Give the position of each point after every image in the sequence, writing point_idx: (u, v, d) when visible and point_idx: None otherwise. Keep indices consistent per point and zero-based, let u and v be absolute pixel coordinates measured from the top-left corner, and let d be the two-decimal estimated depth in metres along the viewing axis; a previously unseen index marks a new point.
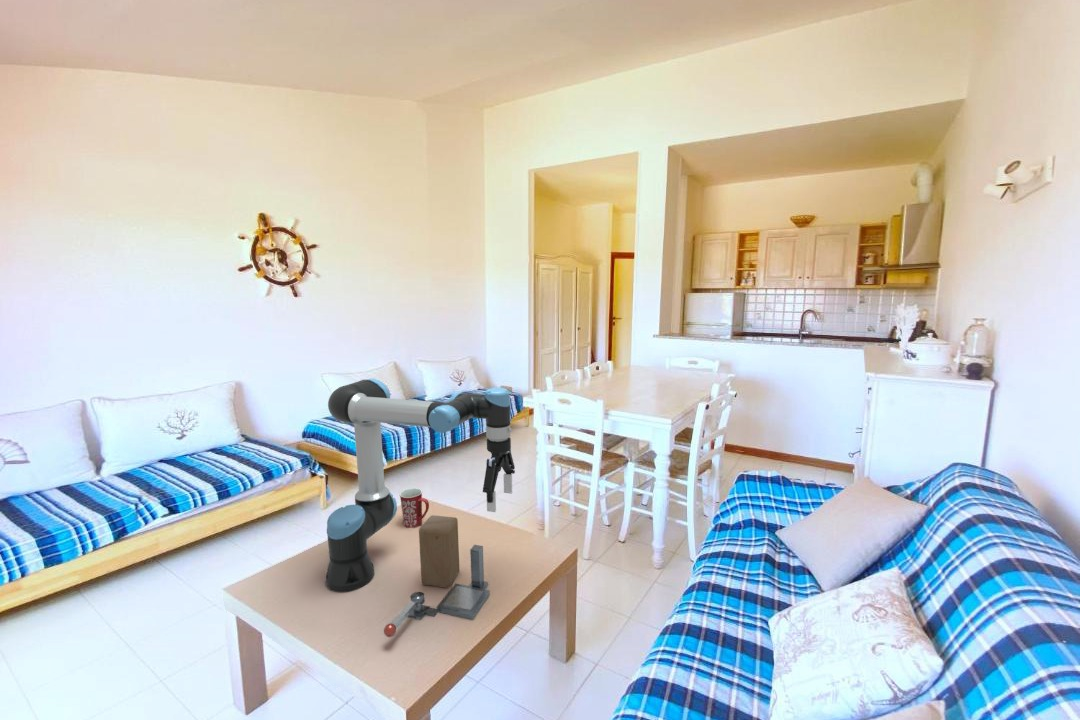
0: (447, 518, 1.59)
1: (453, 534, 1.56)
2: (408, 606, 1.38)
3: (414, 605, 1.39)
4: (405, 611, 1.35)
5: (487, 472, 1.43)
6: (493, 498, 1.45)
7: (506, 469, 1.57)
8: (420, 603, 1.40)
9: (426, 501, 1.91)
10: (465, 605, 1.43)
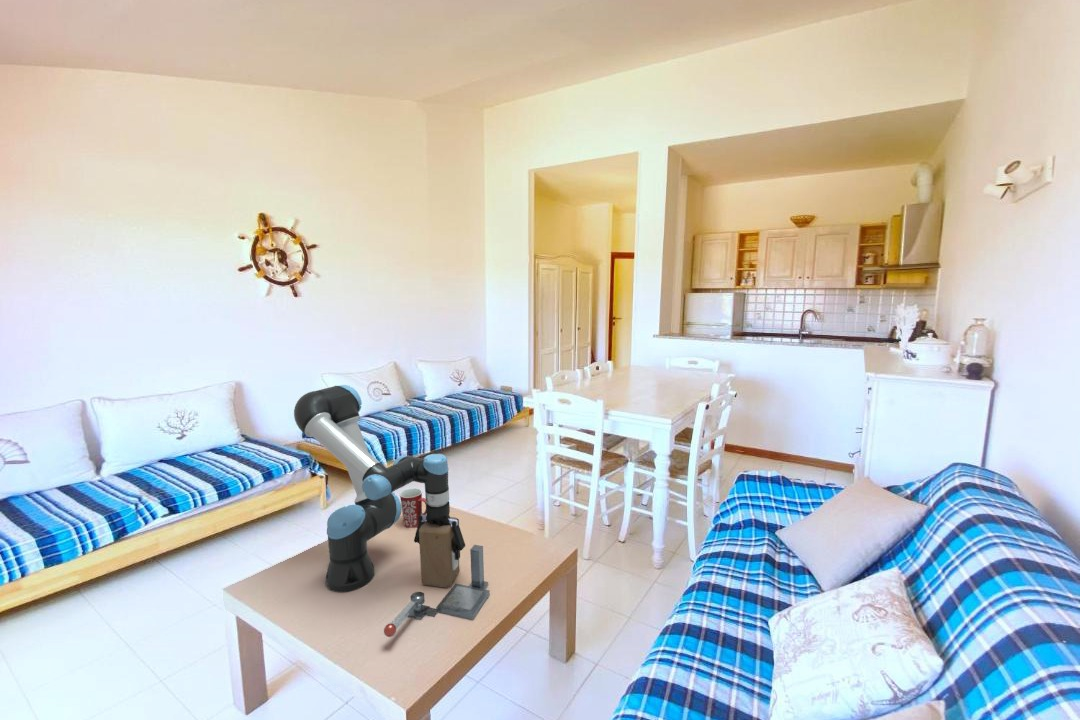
0: None
1: (453, 534, 1.56)
2: (408, 606, 1.38)
3: (414, 605, 1.39)
4: (405, 611, 1.35)
5: None
6: None
7: None
8: (420, 603, 1.40)
9: None
10: (465, 605, 1.43)
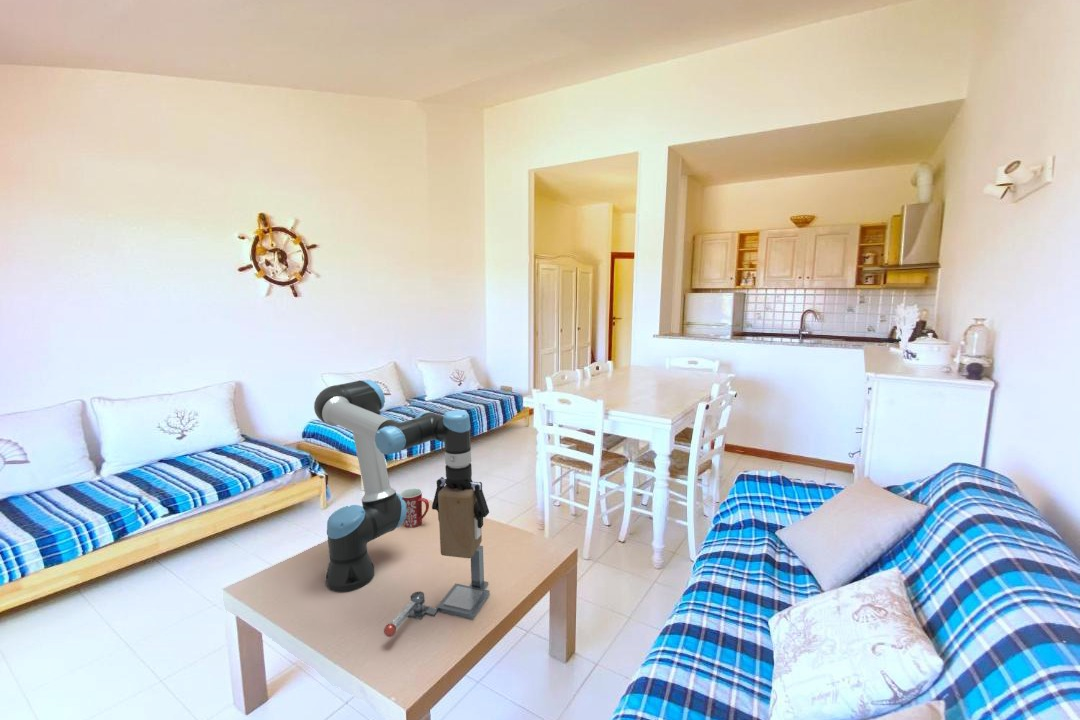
0: None
1: (476, 499, 1.41)
2: (408, 606, 1.38)
3: (414, 605, 1.39)
4: (405, 611, 1.35)
5: None
6: None
7: None
8: (420, 603, 1.40)
9: (426, 501, 1.91)
10: (465, 605, 1.43)
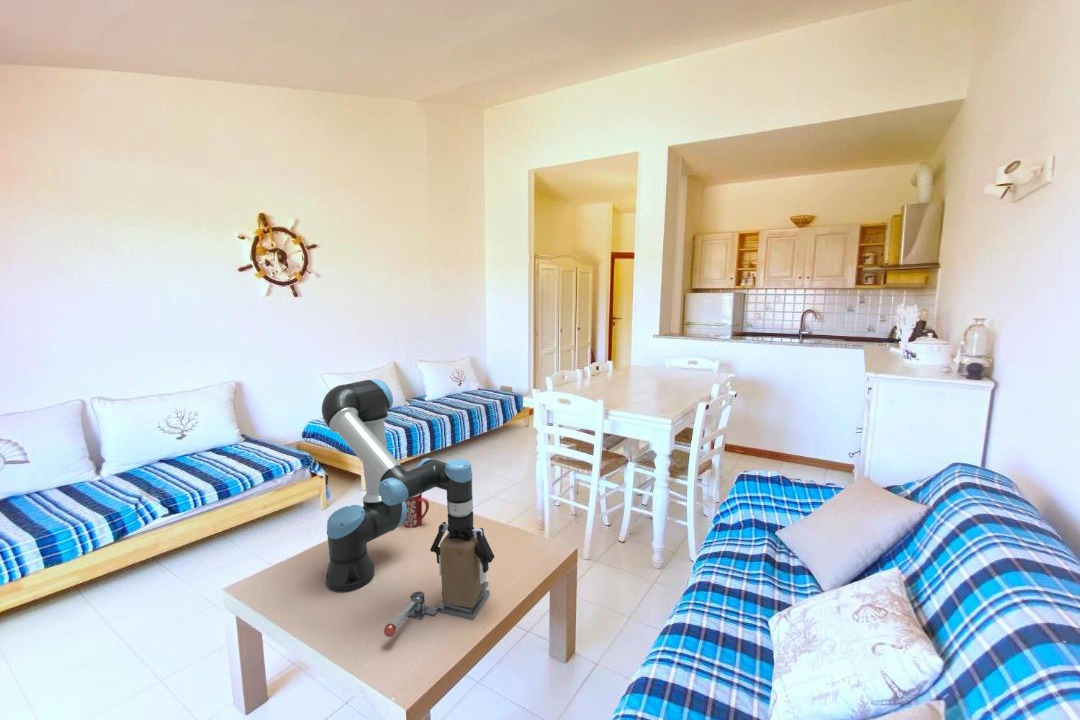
0: None
1: None
2: (408, 606, 1.38)
3: (414, 605, 1.39)
4: (405, 611, 1.35)
5: None
6: (439, 561, 1.46)
7: None
8: (420, 603, 1.40)
9: (426, 501, 1.91)
10: None
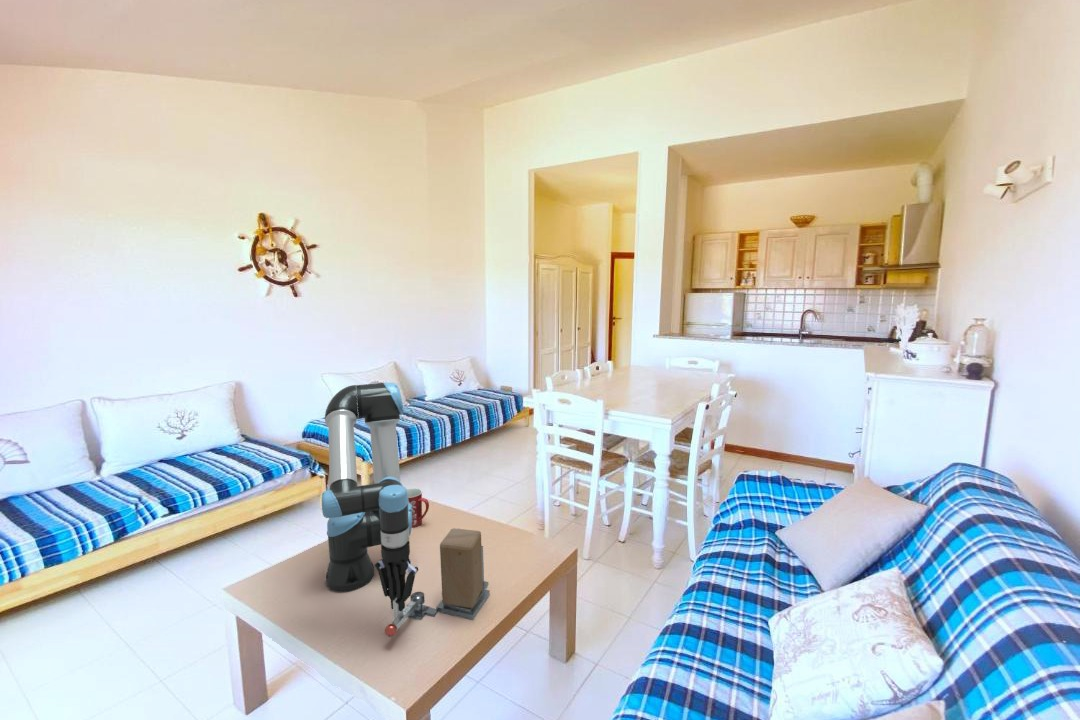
0: (470, 532, 1.46)
1: (477, 549, 1.43)
2: (408, 606, 1.38)
3: (414, 605, 1.39)
4: (406, 611, 1.35)
5: None
6: None
7: None
8: (420, 603, 1.40)
9: (426, 501, 1.91)
10: None
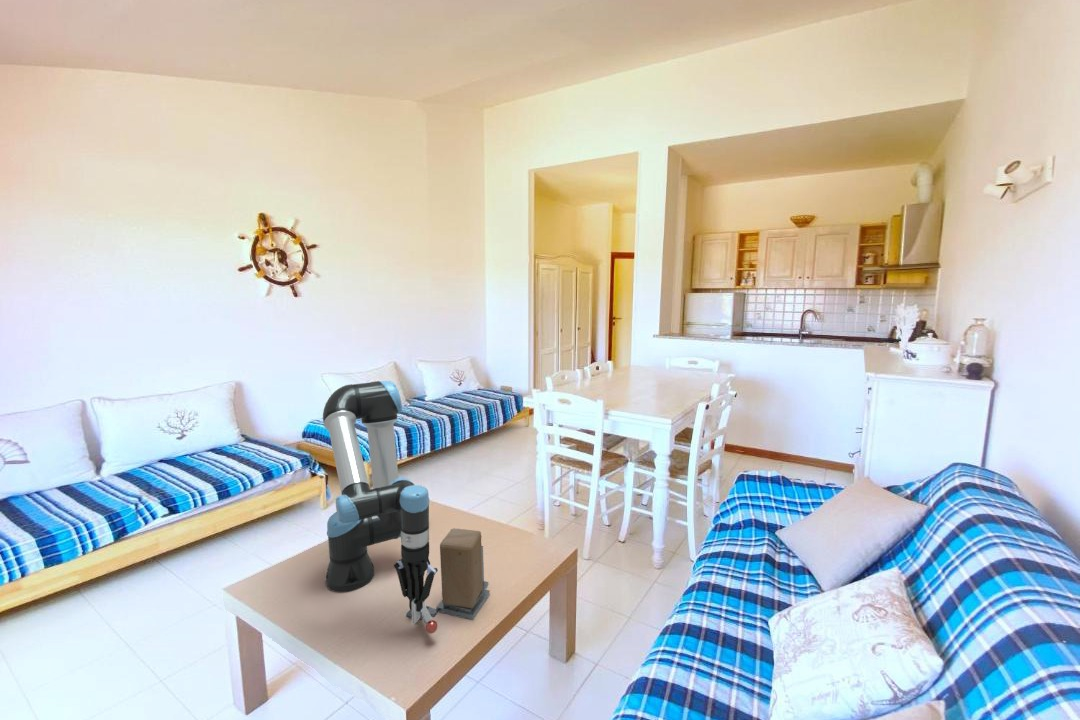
0: (470, 532, 1.46)
1: (477, 549, 1.43)
2: None
3: None
4: (425, 609, 1.36)
5: None
6: (412, 607, 1.34)
7: None
8: None
9: None
10: None
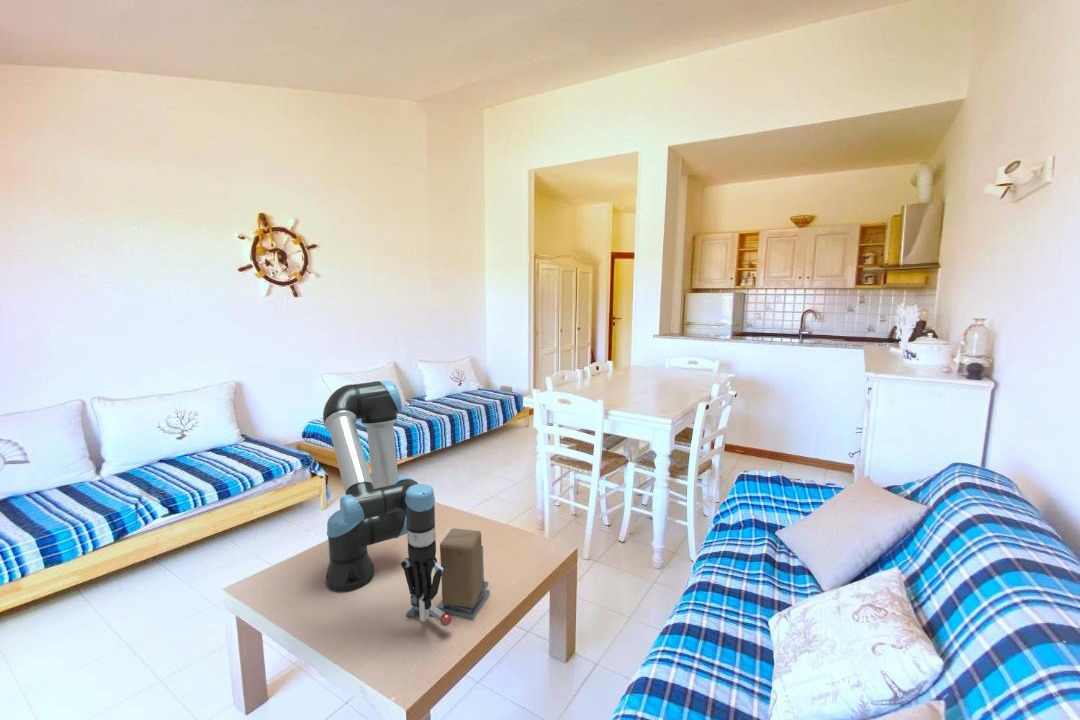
0: (470, 532, 1.46)
1: (477, 549, 1.43)
2: None
3: None
4: (432, 605, 1.38)
5: None
6: None
7: None
8: None
9: None
10: None
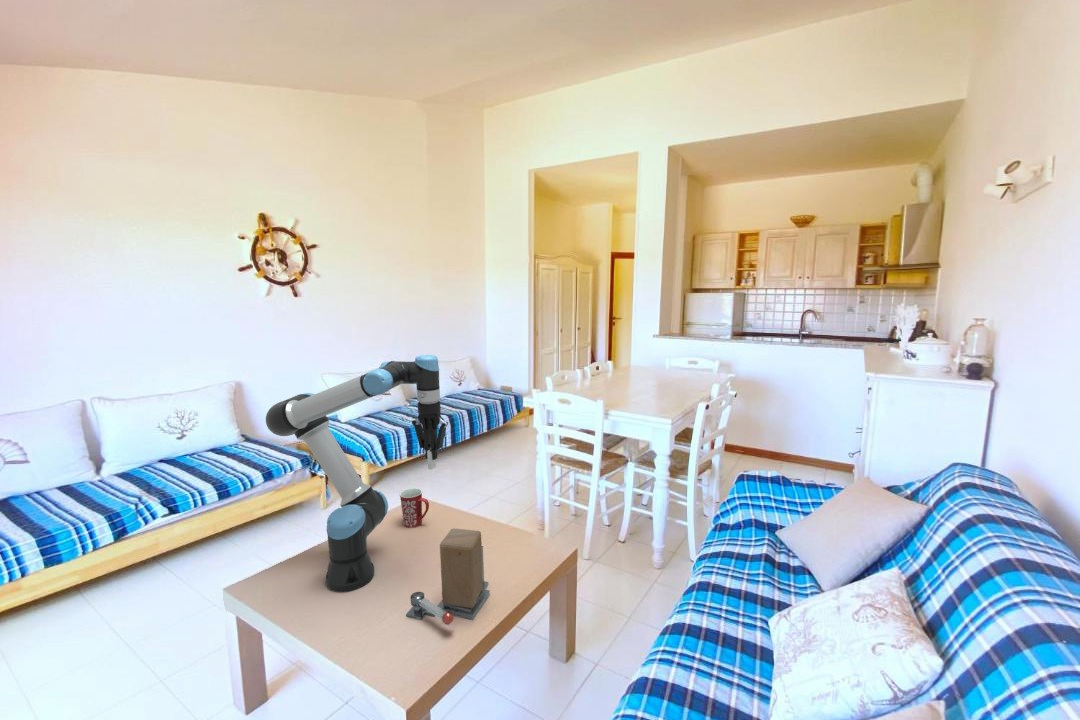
0: (470, 532, 1.46)
1: (477, 549, 1.43)
2: (426, 603, 1.39)
3: None
4: (433, 605, 1.38)
5: None
6: None
7: None
8: None
9: (426, 501, 1.91)
10: None
